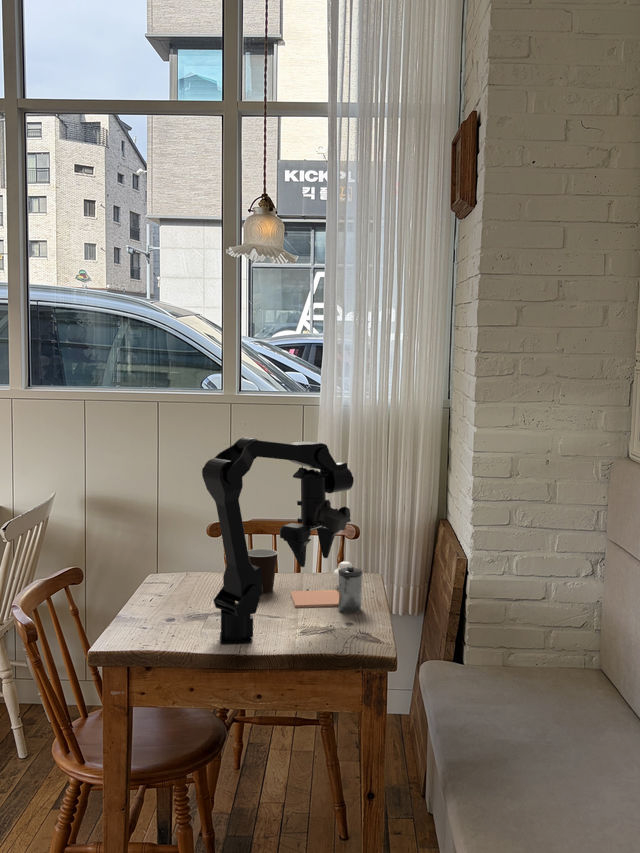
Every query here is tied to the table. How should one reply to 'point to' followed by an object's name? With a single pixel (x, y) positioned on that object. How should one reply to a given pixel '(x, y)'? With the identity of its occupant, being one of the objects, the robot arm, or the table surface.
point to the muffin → (341, 565)
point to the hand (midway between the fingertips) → (314, 562)
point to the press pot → (350, 590)
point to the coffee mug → (265, 566)
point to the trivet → (315, 598)
